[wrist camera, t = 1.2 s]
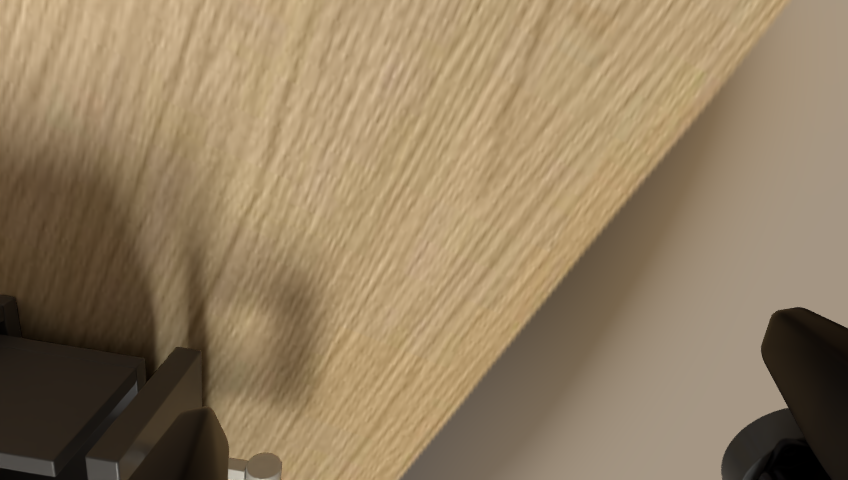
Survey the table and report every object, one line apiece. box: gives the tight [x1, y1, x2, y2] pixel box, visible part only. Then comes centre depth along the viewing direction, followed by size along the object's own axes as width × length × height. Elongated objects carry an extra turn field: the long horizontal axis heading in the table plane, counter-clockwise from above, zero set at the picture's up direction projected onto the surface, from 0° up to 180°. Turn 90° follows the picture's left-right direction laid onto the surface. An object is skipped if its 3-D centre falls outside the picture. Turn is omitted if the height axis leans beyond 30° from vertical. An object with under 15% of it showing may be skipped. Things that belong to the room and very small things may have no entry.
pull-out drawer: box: [0, 335, 282, 480], centre depth 25 cm, size 17×10×7 cm, turn 82°
